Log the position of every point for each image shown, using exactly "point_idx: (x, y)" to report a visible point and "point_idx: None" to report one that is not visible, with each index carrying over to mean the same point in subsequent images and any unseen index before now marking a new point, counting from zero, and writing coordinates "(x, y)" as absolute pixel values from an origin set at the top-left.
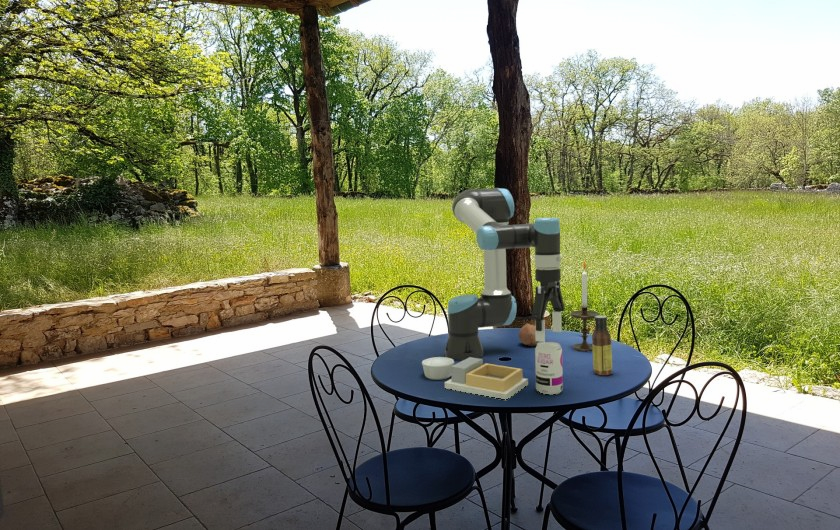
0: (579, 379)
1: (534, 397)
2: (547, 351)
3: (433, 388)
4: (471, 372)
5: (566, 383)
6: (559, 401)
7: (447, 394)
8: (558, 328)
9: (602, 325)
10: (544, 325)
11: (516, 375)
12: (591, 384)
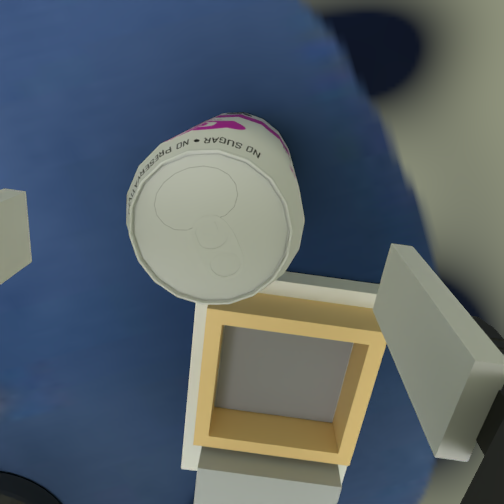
0: (35, 77)
1: (327, 203)
2: (299, 212)
3: (346, 495)
4: (321, 456)
5: (115, 121)
6: (341, 98)
7: (385, 451)
8: (6, 222)
9: None
10: (452, 318)
11: (268, 310)
12: (73, 5)
